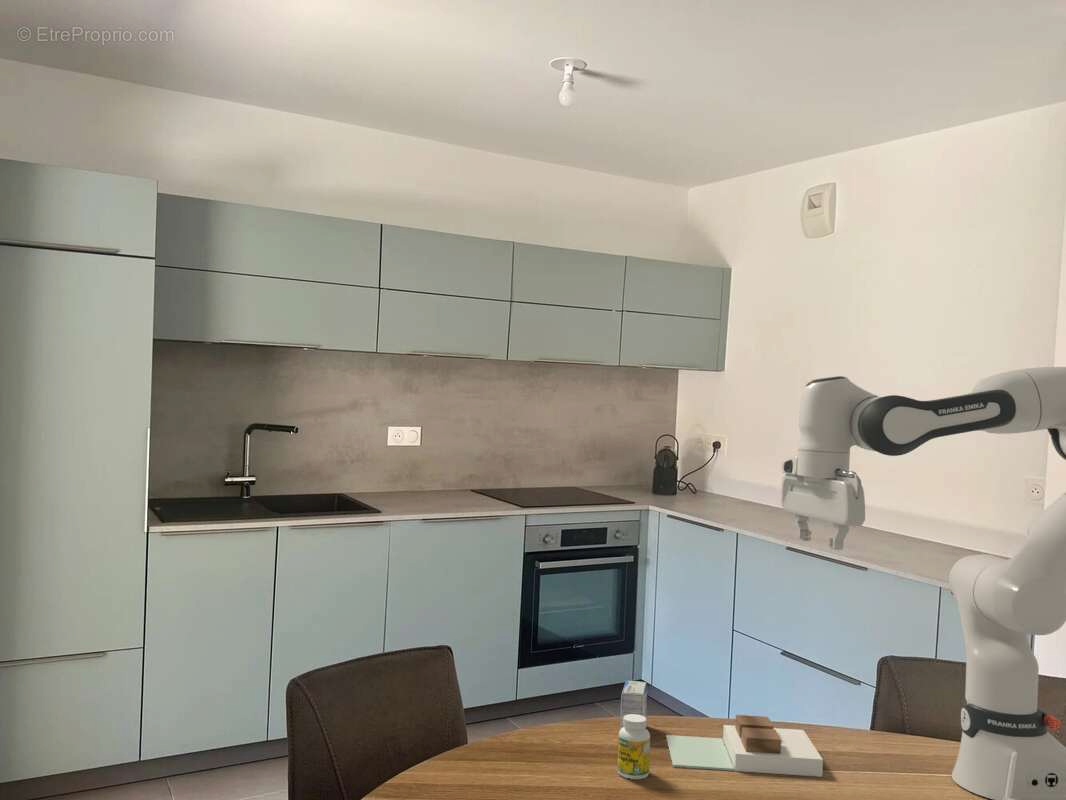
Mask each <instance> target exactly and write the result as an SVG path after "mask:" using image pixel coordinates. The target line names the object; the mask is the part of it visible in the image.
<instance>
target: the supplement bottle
mask: <svg viewBox="0 0 1066 800" xmlns="http://www.w3.org/2000/svg"><path fill="white" fill-rule="evenodd" d="M647 720H648V719H647V717H646V718H645V717H644V716H641V715H637V714H628V715H625V716H624V717H623V725H624V727H623V728H622V729H621V730H619V731H618V747H617V750H618V751H617V772H618V774H619V775H620V776H621V777H622V778H625V779H628V778H630V779H629V780H642V779H646V778H647V777H648V776H649V773H650V752H651V751H650V749H651V748H650V745H651V733H650V732H649V731H648V729H646V728H647V726H648V725H647Z"/></svg>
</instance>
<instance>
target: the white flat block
mask: <svg viewBox="0 0 1066 800" xmlns="http://www.w3.org/2000/svg"><path fill="white" fill-rule="evenodd" d="M722 728H723V729H722V730H723V731H722V732H723V733H722V734H723V736H722V740H723V742H724V744H725V747H726V750H727V752H728V755H729V757H730V760H731V762H732V765H733V767H734V772H744V773H761V774H762V773H763V774H774V775H791V776H804V777H805V776H806V777H822V778H823V767H824V759H823V757H822V756H821V754H820V753H819V751H818V749H817V748H816V747H815V746H814V744H813V742H812V741H811V739H810V738H809V736H808V735H807V733H806V732H805V730H804V729H795V728H794V729H793V728H792V729H791V728H777V727H773V729H775V730H776V732H777V733H778V735H779V737H780V739H781V754H772V753H757V752H746V751H745V748H744V746H743V744H742V742H741V738H740V737H739V735H738V733H737V731H736V728H735V725H729V724H728V725H727V724H723V727H722Z"/></svg>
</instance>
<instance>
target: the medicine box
mask: <svg viewBox="0 0 1066 800" xmlns="http://www.w3.org/2000/svg"><path fill="white" fill-rule="evenodd" d="M647 697H648V683H647V682H646V681H645V682H644V681H636V680H626V681H625V683H624V686H623V689H622V692H621V697H620V722H619V723H620V724H619V725H620V727H619V729H620V730H621V729H622V728H623V727H624V725H623V717H624V716H625V715H628V714H637V715H641V716H644V717H645V718H646V719H647V700H648V698H647ZM620 730H619V731H620Z"/></svg>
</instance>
